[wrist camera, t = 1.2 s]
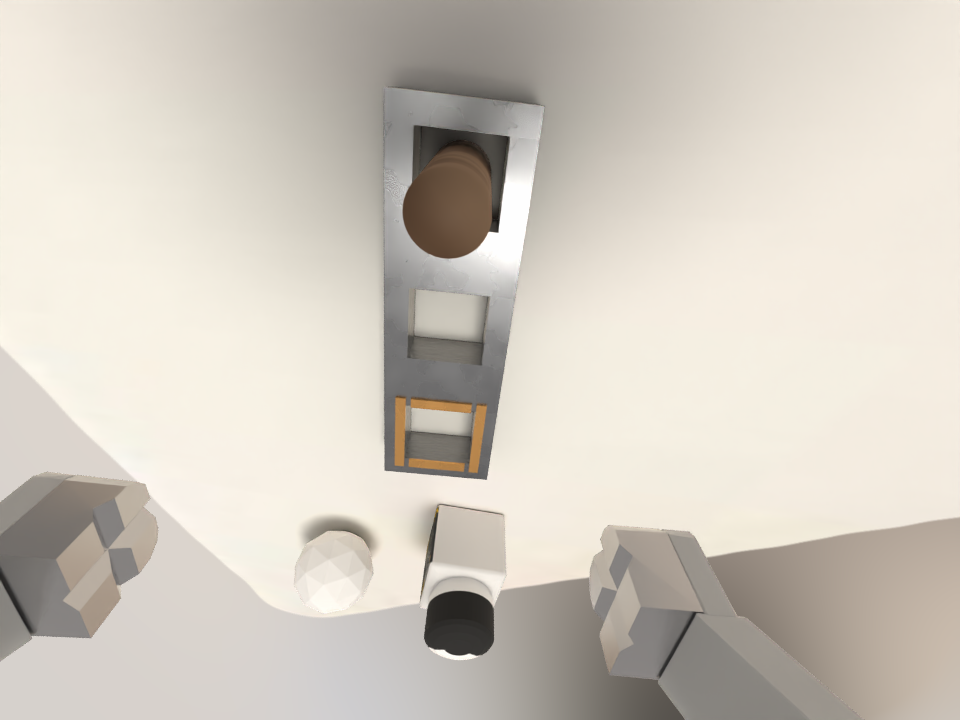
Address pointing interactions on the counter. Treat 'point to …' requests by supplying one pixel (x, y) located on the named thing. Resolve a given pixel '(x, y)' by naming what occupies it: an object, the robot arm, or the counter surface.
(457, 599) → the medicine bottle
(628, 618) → the robot arm
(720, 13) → the counter surface
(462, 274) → the rectangular metal frame
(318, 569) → the ball
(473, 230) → the walnut peg
